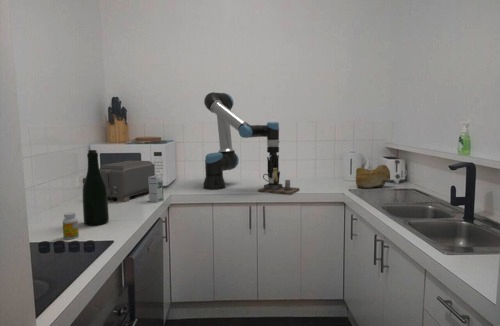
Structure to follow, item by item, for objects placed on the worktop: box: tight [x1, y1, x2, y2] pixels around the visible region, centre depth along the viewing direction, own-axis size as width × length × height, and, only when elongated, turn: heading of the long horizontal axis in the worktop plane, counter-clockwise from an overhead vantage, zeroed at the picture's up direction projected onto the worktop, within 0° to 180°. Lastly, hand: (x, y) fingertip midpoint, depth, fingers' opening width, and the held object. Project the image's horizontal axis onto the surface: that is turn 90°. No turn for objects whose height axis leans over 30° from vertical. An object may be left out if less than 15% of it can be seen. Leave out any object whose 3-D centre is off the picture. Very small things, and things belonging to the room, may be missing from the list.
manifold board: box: [257, 179, 300, 196], centre depth 236 cm, size 22×16×8 cm
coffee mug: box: [262, 170, 281, 184], centre depth 255 cm, size 12×9×10 cm
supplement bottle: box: [62, 211, 80, 240], centre depth 145 cm, size 5×5×10 cm
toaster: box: [99, 160, 156, 203], centre depth 223 cm, size 19×35×20 cm, turn 160°
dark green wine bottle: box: [82, 149, 110, 226], centre depth 164 cm, size 10×10×33 cm
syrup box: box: [148, 174, 165, 203], centre depth 209 cm, size 6×6×14 cm
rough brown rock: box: [355, 164, 391, 189], centre depth 249 cm, size 23×17×15 cm
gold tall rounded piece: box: [268, 168, 277, 184], centre depth 237 cm, size 5×5×10 cm
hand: (273, 182), depth 237 cm, fingers closed on gold tall rounded piece, 5 cm apart
